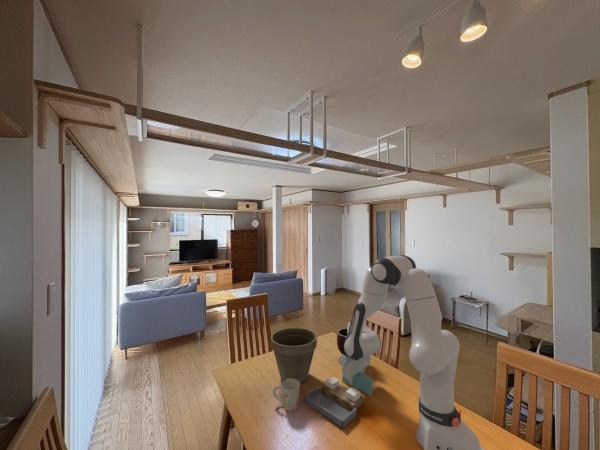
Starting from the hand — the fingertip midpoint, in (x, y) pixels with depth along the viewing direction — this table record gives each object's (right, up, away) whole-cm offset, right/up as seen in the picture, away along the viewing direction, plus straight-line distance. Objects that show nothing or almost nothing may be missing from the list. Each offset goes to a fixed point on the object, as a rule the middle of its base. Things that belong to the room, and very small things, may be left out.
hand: (356, 379), depth 125 cm
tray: (-16, -3, -15) cm, 22 cm away
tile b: (-13, 0, -4) cm, 14 cm away
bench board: (-9, -3, -9) cm, 13 cm away
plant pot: (-32, -4, +10) cm, 33 cm away
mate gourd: (+1, -4, +23) cm, 24 cm away
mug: (-35, -4, -13) cm, 37 cm away
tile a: (-5, 0, -13) cm, 14 cm away
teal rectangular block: (0, -4, 0) cm, 4 cm away
